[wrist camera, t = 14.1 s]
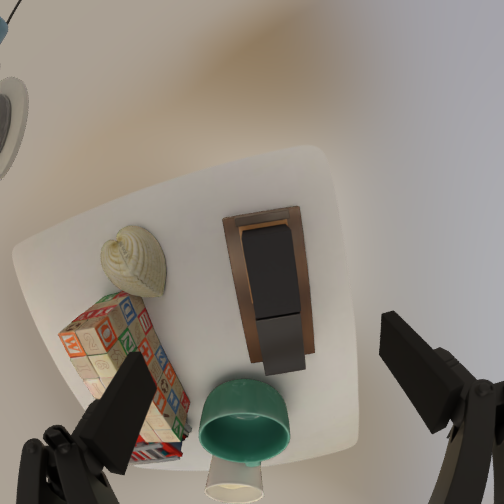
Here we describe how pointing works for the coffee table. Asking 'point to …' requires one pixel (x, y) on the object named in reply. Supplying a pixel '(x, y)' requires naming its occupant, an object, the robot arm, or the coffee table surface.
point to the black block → (271, 270)
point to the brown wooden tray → (280, 326)
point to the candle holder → (233, 482)
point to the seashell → (135, 262)
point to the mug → (244, 422)
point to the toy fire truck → (157, 450)
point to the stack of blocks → (114, 353)
